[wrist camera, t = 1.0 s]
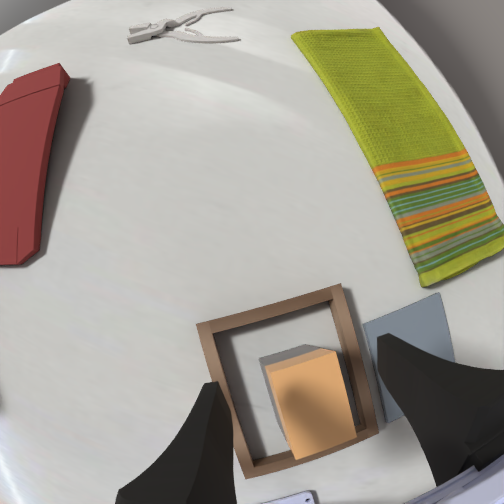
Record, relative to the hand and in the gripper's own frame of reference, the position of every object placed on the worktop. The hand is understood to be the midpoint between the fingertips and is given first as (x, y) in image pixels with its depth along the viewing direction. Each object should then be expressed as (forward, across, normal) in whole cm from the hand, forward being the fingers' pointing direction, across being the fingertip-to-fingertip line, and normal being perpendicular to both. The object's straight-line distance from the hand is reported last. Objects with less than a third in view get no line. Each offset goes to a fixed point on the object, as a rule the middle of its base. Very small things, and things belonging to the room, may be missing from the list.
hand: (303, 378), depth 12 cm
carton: (+22, +25, -17) cm, 37 cm away
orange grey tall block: (+9, 0, +9) cm, 13 cm away
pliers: (+32, +2, -30) cm, 44 cm away
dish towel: (+23, -20, -9) cm, 32 cm away
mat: (+9, -12, +11) cm, 18 cm away
